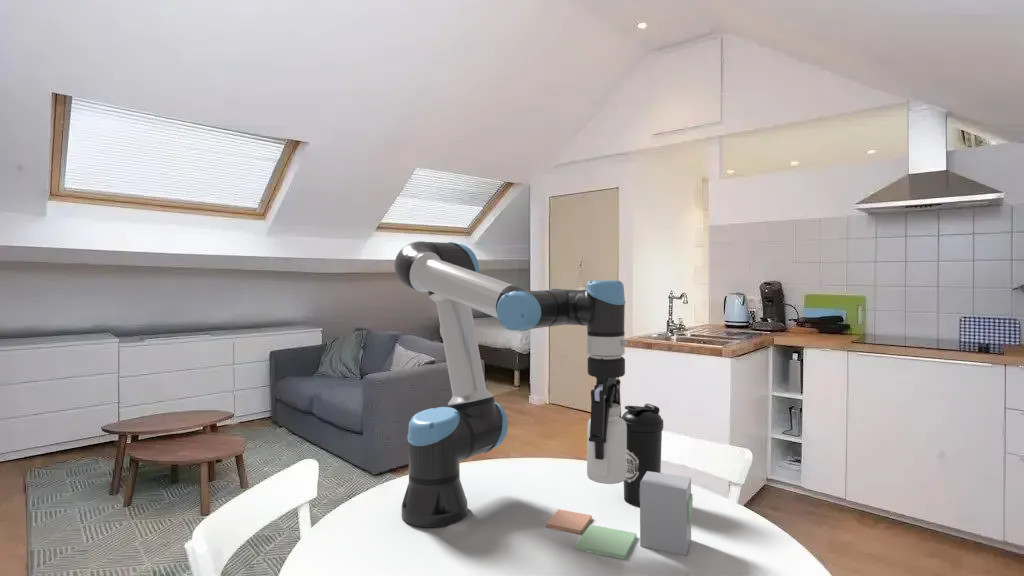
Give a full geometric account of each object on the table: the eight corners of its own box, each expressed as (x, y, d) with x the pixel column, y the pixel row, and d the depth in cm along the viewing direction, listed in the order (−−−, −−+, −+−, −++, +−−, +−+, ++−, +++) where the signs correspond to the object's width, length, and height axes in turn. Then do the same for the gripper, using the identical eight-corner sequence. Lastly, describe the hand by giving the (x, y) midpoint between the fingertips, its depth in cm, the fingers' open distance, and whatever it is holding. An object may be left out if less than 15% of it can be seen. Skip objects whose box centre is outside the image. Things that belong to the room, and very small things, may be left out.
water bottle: (612, 495, 137) (612, 403, 137) (646, 489, 141) (646, 399, 141) (637, 511, 128) (636, 413, 127) (672, 504, 132) (672, 408, 131)
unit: (638, 545, 112) (638, 482, 112) (645, 531, 118) (645, 470, 118) (688, 555, 108) (688, 489, 108) (693, 540, 114) (693, 477, 114)
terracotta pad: (545, 527, 121) (545, 523, 121) (558, 512, 128) (558, 509, 128) (580, 534, 117) (580, 530, 117) (592, 518, 124) (592, 515, 124)
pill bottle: (626, 486, 108) (626, 410, 108) (585, 483, 110) (585, 408, 109) (626, 472, 116) (626, 401, 116) (588, 469, 118) (587, 399, 117)
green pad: (575, 549, 111) (575, 545, 111) (590, 528, 120) (590, 524, 120) (625, 559, 107) (625, 555, 107) (636, 537, 116) (636, 533, 116)
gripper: (610, 364, 101) (611, 488, 102) (635, 350, 120) (636, 454, 121) (571, 362, 105) (572, 482, 105) (602, 348, 123) (602, 450, 124)
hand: (606, 467), depth 113 cm, fingers closed on pill bottle, 8 cm apart
